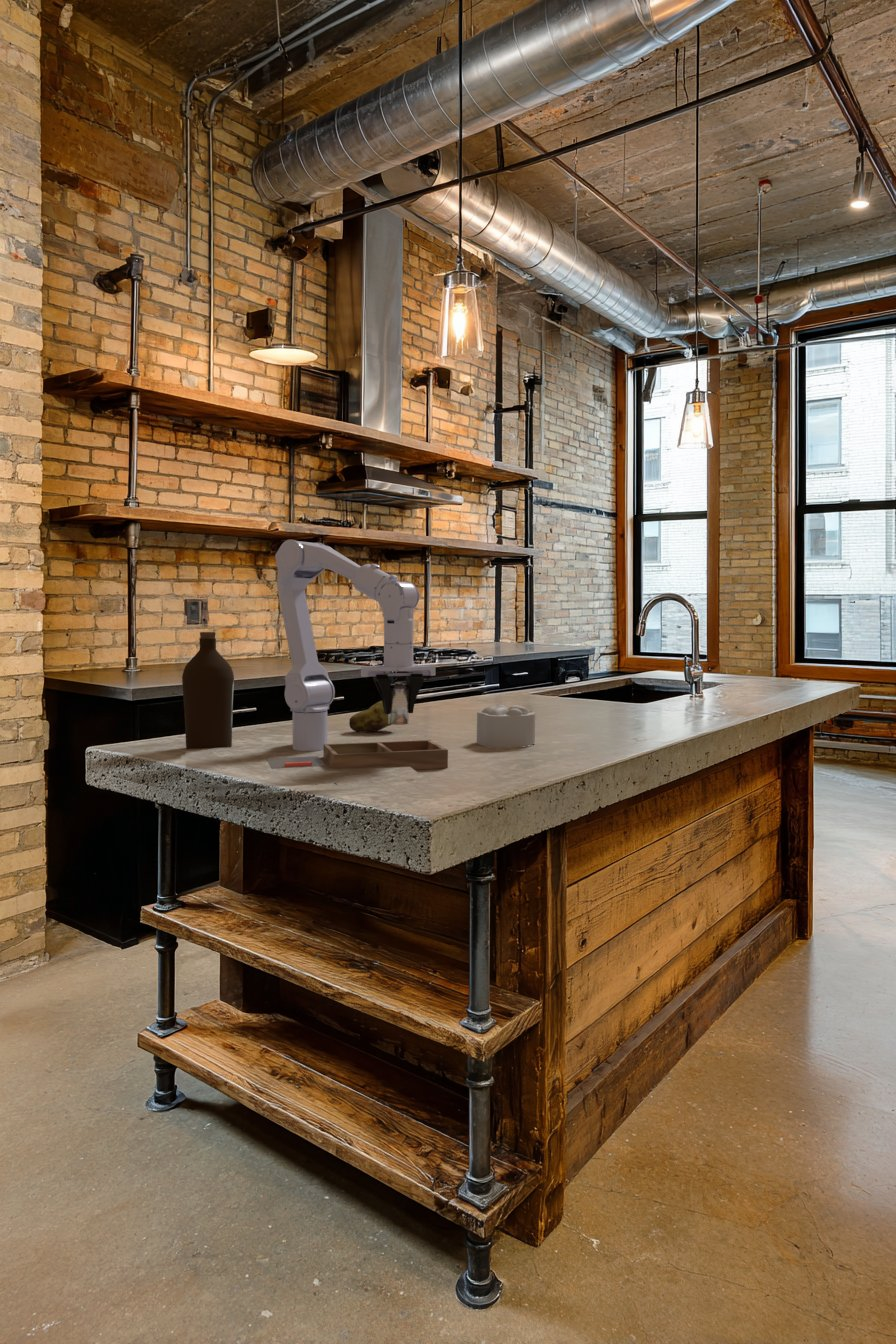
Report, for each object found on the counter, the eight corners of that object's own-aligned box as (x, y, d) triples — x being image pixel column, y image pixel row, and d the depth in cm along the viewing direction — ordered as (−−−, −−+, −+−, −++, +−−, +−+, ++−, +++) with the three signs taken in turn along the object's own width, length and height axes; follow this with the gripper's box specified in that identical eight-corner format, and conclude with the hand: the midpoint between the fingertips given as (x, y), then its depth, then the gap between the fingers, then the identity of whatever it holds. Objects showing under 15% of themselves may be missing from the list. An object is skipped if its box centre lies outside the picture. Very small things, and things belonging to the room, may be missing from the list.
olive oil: (195, 754, 171) (193, 633, 169) (175, 747, 179) (173, 631, 177) (243, 749, 178) (242, 632, 176) (222, 743, 186) (220, 631, 184)
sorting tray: (323, 761, 165) (323, 744, 165) (429, 756, 172) (429, 740, 172) (334, 773, 154) (334, 754, 154) (447, 767, 161) (447, 749, 160)
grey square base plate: (266, 763, 163) (266, 755, 163) (317, 761, 166) (317, 753, 166) (271, 773, 153) (271, 765, 153) (326, 770, 156) (326, 762, 156)
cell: (386, 722, 164) (386, 681, 164) (405, 721, 166) (405, 681, 165) (390, 725, 161) (391, 683, 160) (411, 724, 162) (411, 683, 161)
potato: (351, 729, 209) (351, 697, 209) (403, 729, 209) (403, 697, 209) (348, 734, 201) (348, 701, 200) (401, 734, 201) (401, 701, 200)
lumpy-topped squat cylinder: (472, 742, 192) (472, 704, 191) (522, 739, 197) (523, 702, 196) (491, 749, 182) (491, 710, 181) (543, 746, 187) (544, 708, 186)
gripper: (366, 644, 156) (366, 716, 157) (440, 644, 160) (439, 714, 161) (358, 643, 163) (358, 712, 164) (430, 642, 167) (429, 709, 168)
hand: (398, 713), depth 163 cm, fingers closed on cell, 4 cm apart
